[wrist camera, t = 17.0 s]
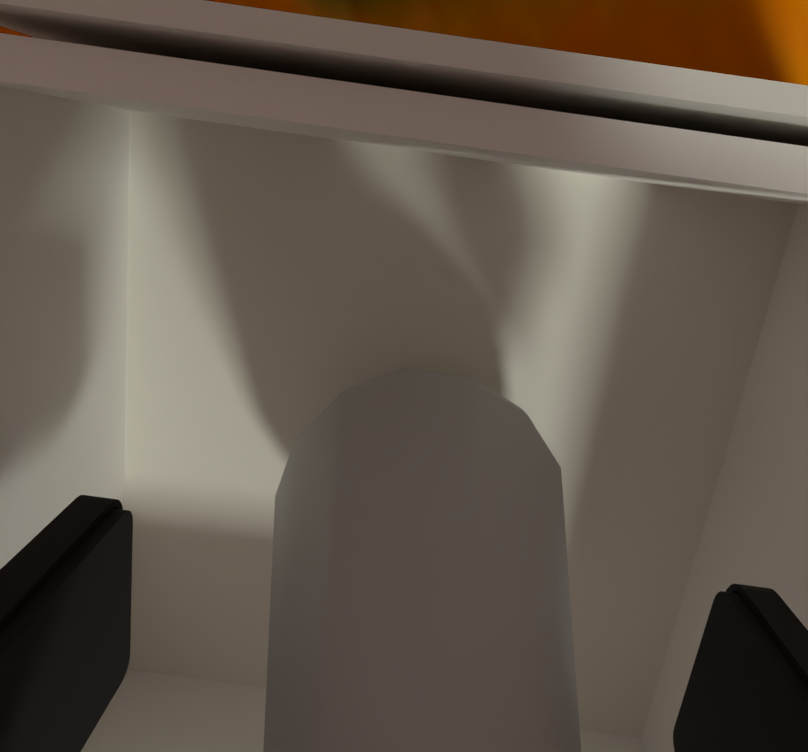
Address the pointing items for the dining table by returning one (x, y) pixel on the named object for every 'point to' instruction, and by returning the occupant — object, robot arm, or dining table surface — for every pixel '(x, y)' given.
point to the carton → (395, 318)
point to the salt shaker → (420, 578)
